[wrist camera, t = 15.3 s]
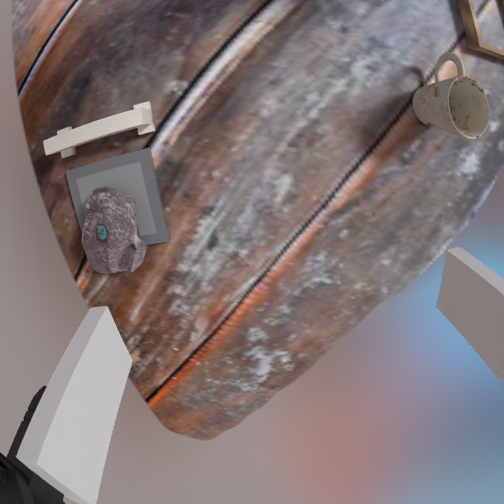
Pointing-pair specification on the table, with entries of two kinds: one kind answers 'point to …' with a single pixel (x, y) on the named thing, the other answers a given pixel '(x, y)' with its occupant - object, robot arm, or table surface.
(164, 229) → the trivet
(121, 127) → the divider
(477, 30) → the wooden frame
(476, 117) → the mug
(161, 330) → the table surface
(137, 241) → the rock
